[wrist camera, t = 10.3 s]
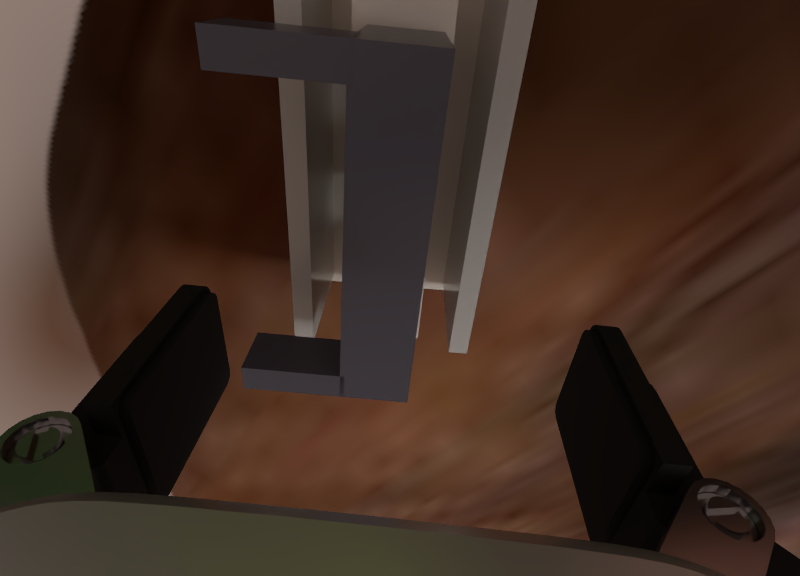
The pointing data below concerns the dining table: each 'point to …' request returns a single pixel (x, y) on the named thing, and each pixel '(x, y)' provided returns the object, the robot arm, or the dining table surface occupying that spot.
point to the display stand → (460, 157)
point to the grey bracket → (358, 192)
